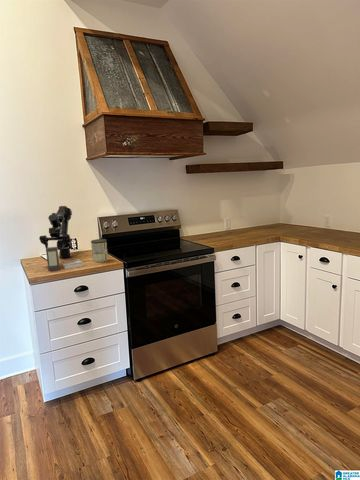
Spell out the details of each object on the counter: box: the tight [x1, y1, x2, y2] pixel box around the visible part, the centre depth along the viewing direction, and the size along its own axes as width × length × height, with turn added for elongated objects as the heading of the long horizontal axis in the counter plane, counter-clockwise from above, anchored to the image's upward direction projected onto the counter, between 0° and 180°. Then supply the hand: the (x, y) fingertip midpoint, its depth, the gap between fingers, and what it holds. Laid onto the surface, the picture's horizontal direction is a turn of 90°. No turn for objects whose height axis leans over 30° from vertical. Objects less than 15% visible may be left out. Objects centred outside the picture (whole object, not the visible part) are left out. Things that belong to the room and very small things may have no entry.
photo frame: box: [45, 246, 60, 272], centre depth 221 cm, size 4×6×14 cm, turn 108°
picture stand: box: [62, 258, 84, 270], centre depth 228 cm, size 10×11×3 cm
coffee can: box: [90, 238, 109, 263], centre depth 239 cm, size 10×10×14 cm
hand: (53, 249), depth 225 cm, fingers open, 9 cm apart
